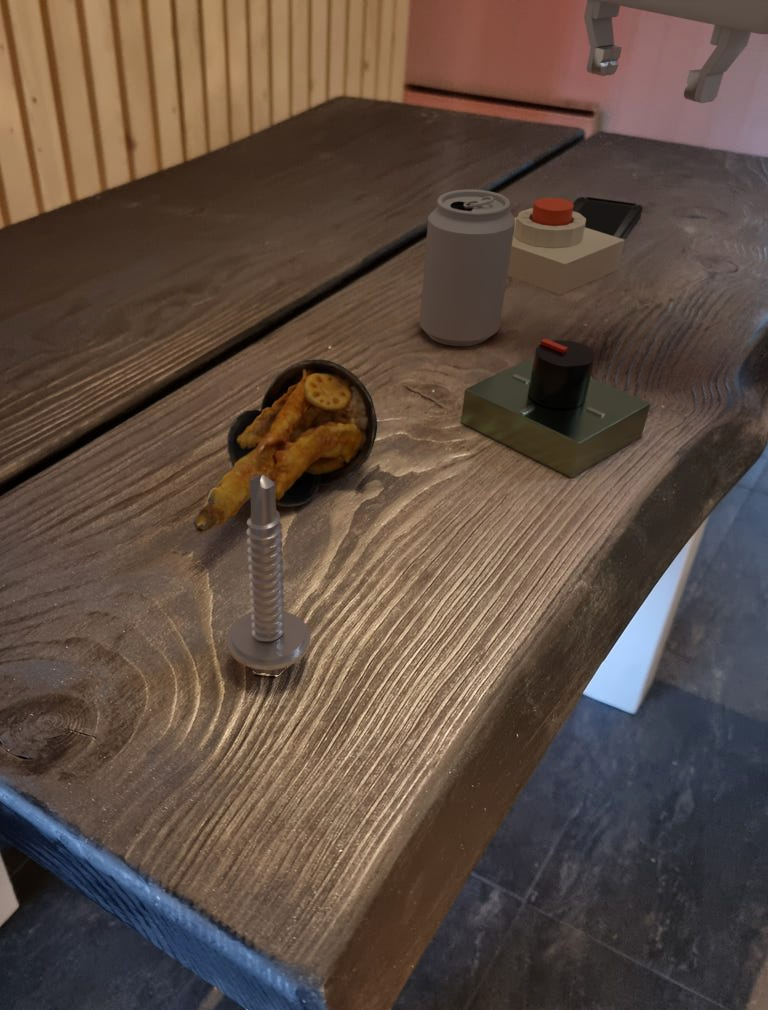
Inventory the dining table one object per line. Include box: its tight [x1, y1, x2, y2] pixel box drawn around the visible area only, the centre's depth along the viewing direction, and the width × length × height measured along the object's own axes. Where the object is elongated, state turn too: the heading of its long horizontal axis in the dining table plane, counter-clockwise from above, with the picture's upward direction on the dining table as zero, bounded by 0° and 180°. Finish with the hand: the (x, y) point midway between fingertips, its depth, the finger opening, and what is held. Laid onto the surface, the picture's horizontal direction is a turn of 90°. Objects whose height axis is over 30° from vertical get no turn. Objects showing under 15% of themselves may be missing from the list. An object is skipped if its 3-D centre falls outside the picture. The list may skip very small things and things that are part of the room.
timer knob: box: [528, 338, 596, 409], centre depth 71 cm, size 4×4×4 cm
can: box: [419, 189, 515, 347], centre depth 83 cm, size 8×8×12 cm
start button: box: [531, 197, 574, 226], centre depth 95 cm, size 4×4×2 cm
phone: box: [572, 196, 643, 241], centre depth 106 cm, size 8×1×15 cm
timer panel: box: [460, 356, 652, 479], centre depth 73 cm, size 11×9×3 cm
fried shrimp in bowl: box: [193, 359, 378, 536], centre depth 64 cm, size 9×11×18 cm
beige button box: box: [507, 207, 626, 296], centre depth 97 cm, size 12×10×5 cm
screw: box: [225, 474, 311, 675], centre depth 50 cm, size 13×5×5 cm
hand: (647, 86), depth 68 cm, fingers open, 8 cm apart
